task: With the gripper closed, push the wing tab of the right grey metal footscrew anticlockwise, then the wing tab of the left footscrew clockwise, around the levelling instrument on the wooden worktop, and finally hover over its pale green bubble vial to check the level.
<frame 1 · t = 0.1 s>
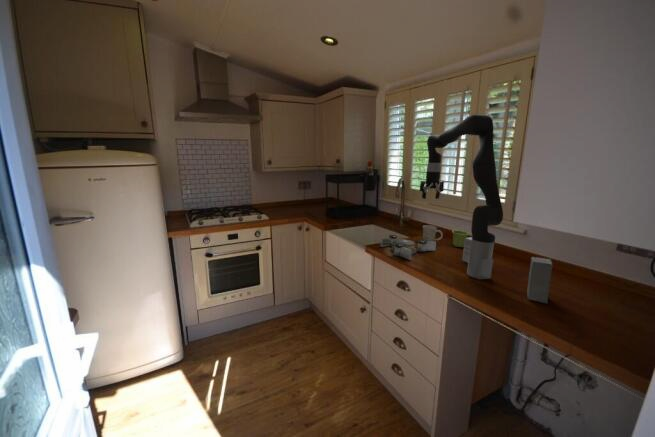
hand: (430, 198, 174), 29 cm above the worktop, tool pointing down, fingers open, 8 cm apart
supplement box: (472, 262, 155), on the worktop
footscrew left: (402, 251, 158), point 3 cm above the worktop, hinge at 0.0°
footscrew right: (426, 245, 170), point 3 cm above the worktop, hinge at 0.0°
mug: (431, 242, 188), on the worktop
footscrew far: (388, 241, 176), point 3 cm above the worktop, hinge at 0.0°
level instrument: (403, 250, 170), on the worktop
plant pot: (458, 246, 182), on the worktop
skincare box: (535, 298, 118), on the worktop
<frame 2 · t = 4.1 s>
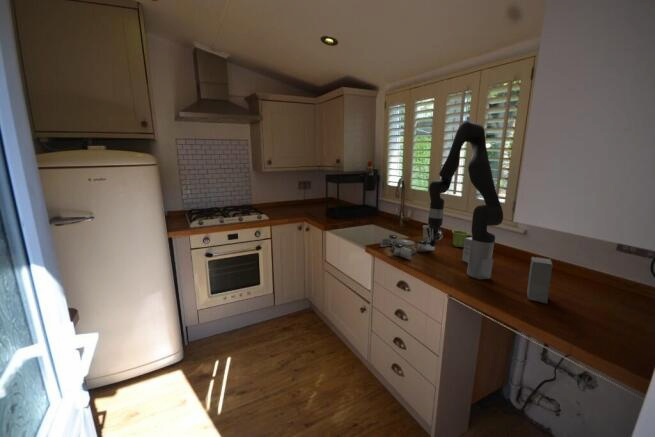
hand: (432, 246, 168), 4 cm above the worktop, tool pointing down, fingers closed
footscrew right: (426, 245, 170), point 3 cm above the worktop, hinge at 5.1°, touching gripper
everything else where it was.
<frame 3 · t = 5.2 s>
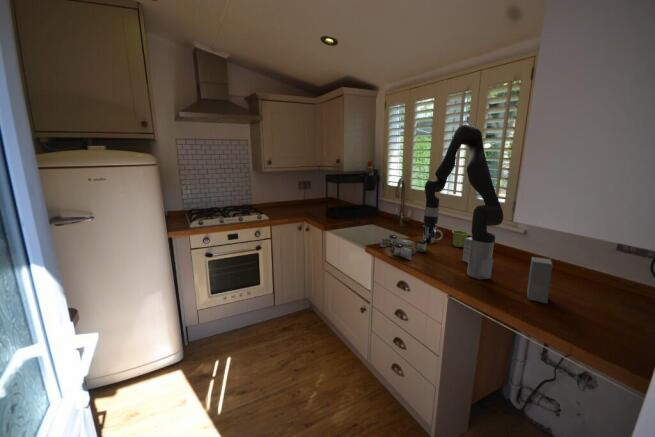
hand: (428, 243, 172), 4 cm above the worktop, tool pointing down, fingers closed
footscrew right: (422, 244, 171), point 3 cm above the worktop, hinge at 49.7°, touching gripper
everything else where it was.
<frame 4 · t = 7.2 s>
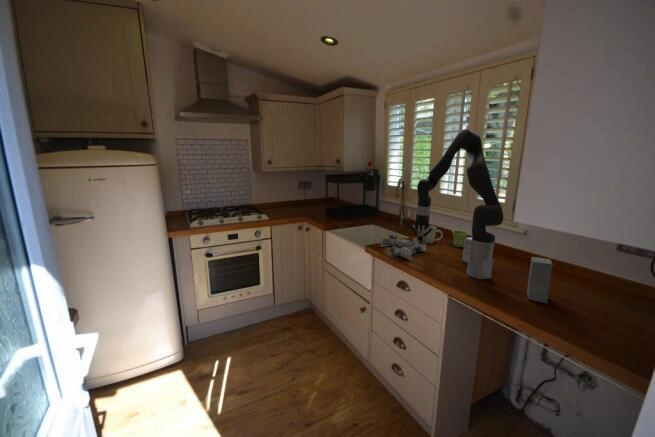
hand: (419, 242, 175), 4 cm above the worktop, tool pointing down, fingers closed
footscrew right: (419, 244, 172), point 3 cm above the worktop, hinge at 92.9°, touching gripper
everything else where it was.
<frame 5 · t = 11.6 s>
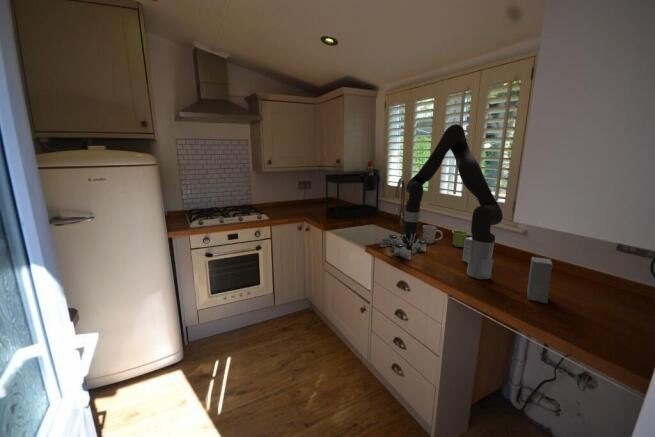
hand: (408, 251, 158), 4 cm above the worktop, tool pointing down, fingers closed
footscrew left: (402, 251, 158), point 3 cm above the worktop, hinge at -3.8°, touching gripper
footscrew right: (419, 244, 172), point 3 cm above the worktop, hinge at 93.0°
everything else where it was.
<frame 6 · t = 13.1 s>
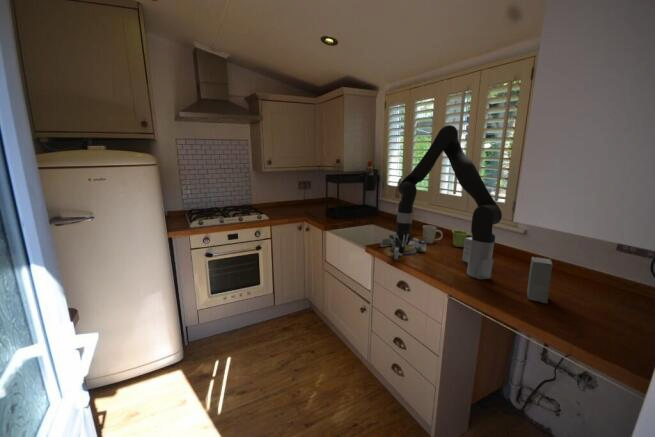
hand: (401, 253, 155), 4 cm above the worktop, tool pointing down, fingers closed
footscrew left: (397, 251, 158), point 3 cm above the worktop, hinge at -55.8°, touching gripper
everything else where it was.
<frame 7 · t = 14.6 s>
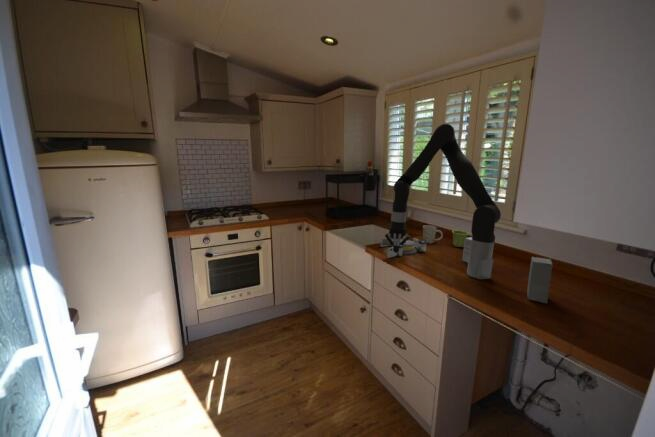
hand: (395, 252, 155), 4 cm above the worktop, tool pointing down, fingers closed
footscrew left: (395, 250, 159), point 3 cm above the worktop, hinge at -83.4°
everything else where it was.
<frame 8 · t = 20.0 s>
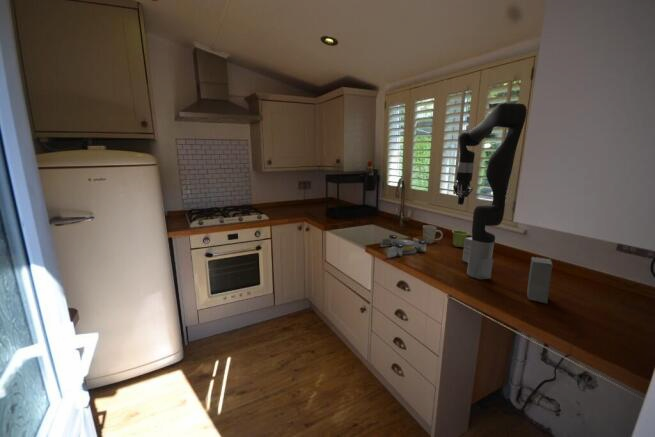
hand: (460, 204, 157), 29 cm above the worktop, tool pointing down, fingers closed
nothing on the worktop moved.
at the end: footscrew right at +93° (first picture: +0°); footscrew left at -83° (first picture: +0°) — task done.
